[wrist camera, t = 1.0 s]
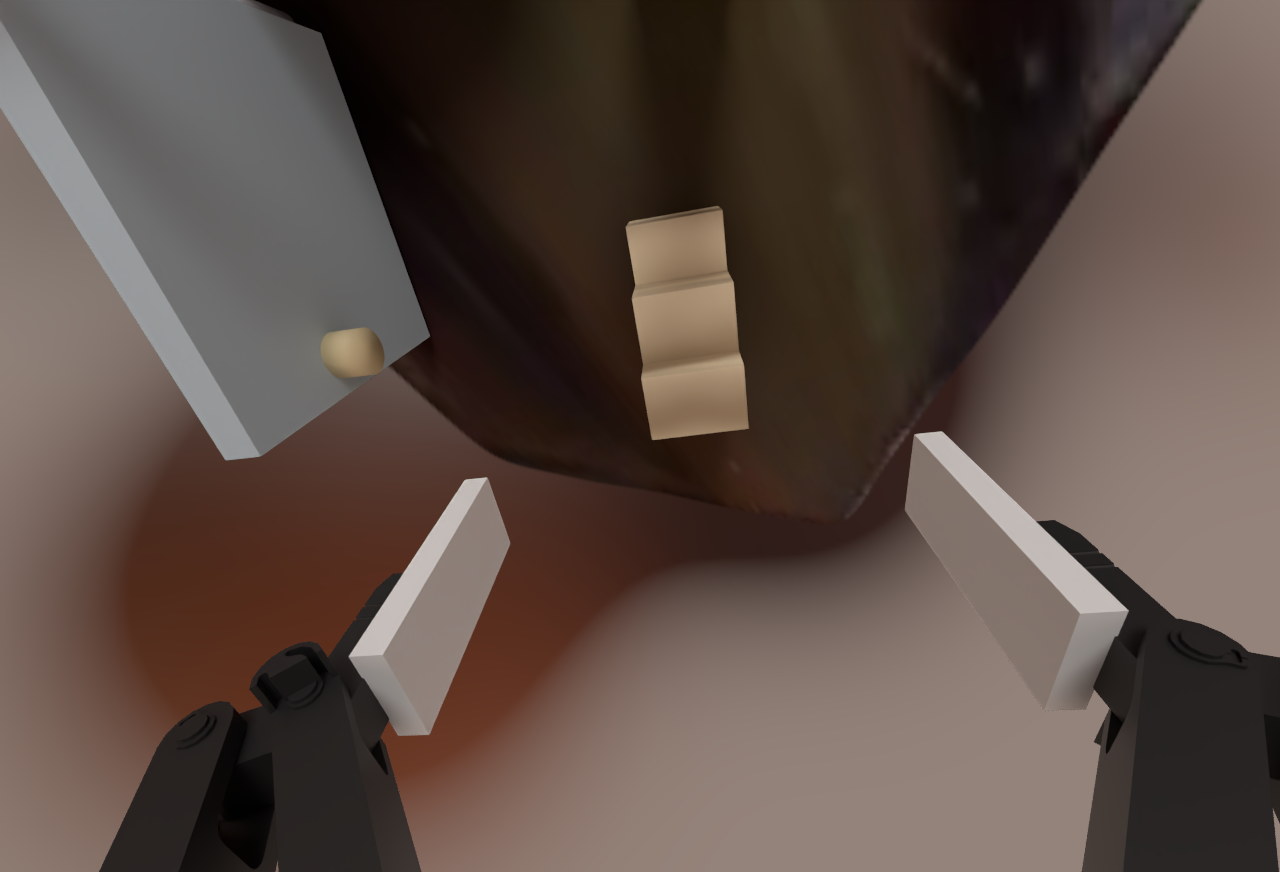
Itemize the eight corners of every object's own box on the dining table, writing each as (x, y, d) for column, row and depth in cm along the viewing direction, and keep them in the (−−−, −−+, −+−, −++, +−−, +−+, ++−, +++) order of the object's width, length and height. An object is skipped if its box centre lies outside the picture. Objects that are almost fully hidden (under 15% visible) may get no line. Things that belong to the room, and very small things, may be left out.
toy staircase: (629, 221, 28) (616, 239, 21) (717, 205, 28) (733, 219, 21) (656, 381, 33) (652, 439, 26) (731, 371, 32) (748, 428, 25)
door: (453, 333, 32) (298, 452, 18) (408, 339, 32) (225, 460, 19) (345, 11, 24) (-48, -176, 11) (288, 23, 24) (-159, -141, 11)
